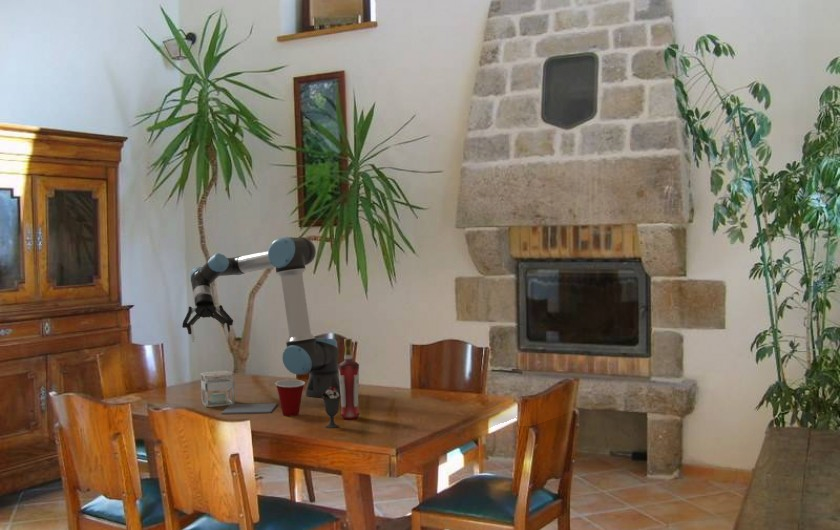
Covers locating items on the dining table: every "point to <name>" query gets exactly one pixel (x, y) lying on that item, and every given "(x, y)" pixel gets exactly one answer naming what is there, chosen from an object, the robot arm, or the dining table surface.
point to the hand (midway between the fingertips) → (210, 338)
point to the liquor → (349, 383)
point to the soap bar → (217, 398)
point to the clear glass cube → (217, 386)
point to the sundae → (331, 404)
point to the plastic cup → (290, 396)
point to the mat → (249, 408)
